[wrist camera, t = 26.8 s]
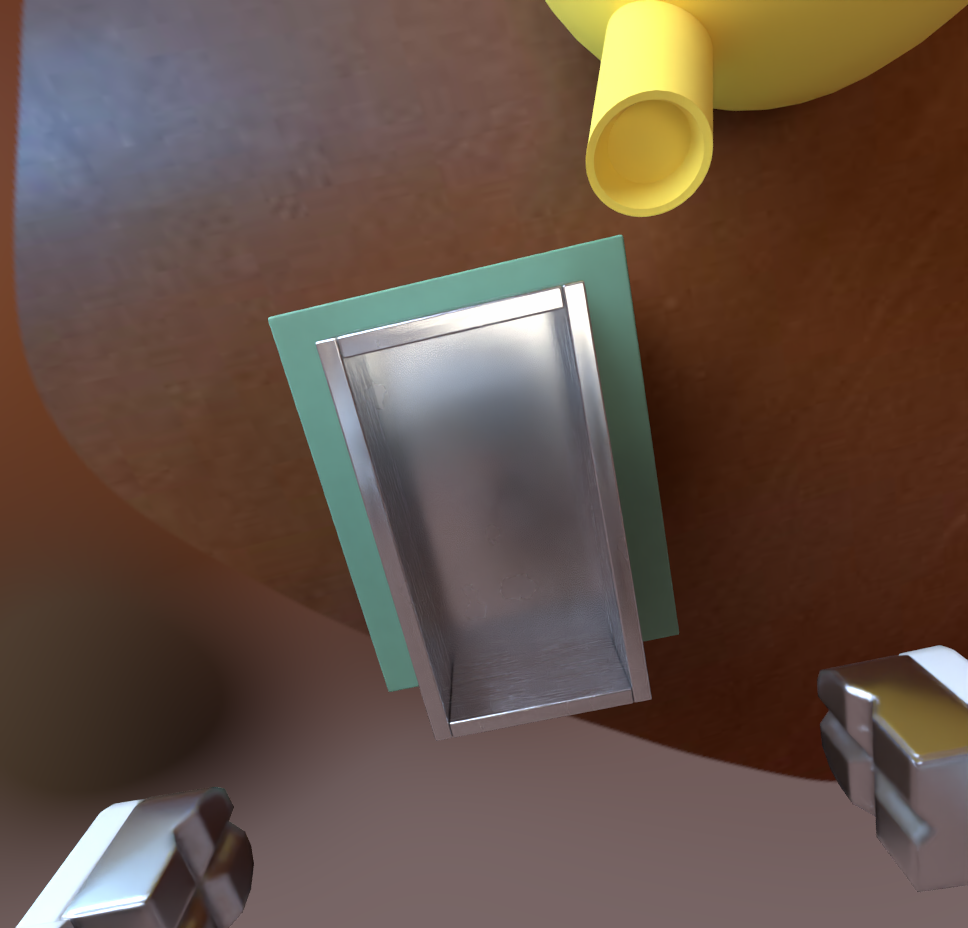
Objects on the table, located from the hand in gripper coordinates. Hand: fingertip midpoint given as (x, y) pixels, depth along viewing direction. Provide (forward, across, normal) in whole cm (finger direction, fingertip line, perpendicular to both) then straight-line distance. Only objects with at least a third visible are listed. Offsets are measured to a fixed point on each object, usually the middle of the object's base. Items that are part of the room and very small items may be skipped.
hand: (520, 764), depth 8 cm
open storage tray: (+10, 0, 0) cm, 10 cm away
